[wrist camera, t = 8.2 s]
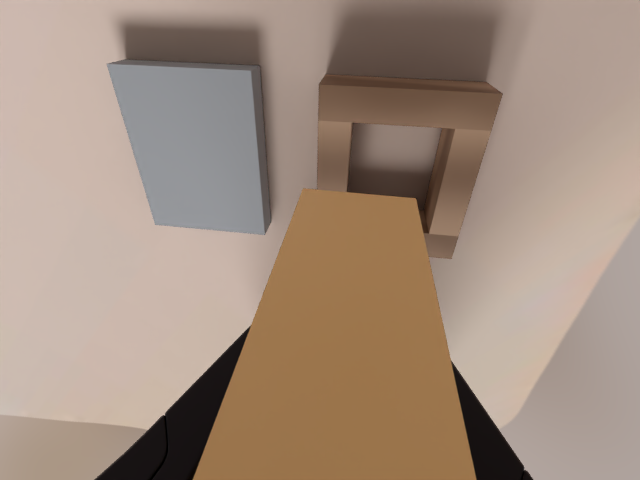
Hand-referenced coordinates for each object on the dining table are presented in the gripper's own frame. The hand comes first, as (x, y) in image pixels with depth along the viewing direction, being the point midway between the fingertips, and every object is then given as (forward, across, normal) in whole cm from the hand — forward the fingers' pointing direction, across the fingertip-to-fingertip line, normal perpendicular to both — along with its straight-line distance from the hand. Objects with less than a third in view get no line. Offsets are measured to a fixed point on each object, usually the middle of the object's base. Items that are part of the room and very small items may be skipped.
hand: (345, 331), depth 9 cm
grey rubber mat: (+12, +9, 0) cm, 15 cm away
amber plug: (+4, 0, 0) cm, 4 cm away
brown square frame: (+12, -2, 0) cm, 12 cm away
